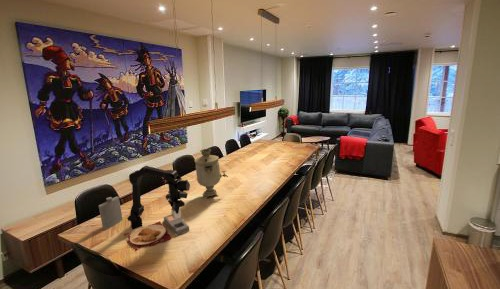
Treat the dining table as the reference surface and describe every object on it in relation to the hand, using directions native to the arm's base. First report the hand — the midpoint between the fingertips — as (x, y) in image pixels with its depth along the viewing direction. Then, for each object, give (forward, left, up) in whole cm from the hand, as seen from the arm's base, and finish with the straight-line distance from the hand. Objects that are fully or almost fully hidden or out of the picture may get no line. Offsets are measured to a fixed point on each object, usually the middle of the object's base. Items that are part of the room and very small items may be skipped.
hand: (176, 212), depth 174 cm
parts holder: (0, +4, -12) cm, 12 cm away
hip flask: (-33, +36, -12) cm, 50 cm away
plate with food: (-19, +3, -13) cm, 23 cm away
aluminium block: (0, 0, -4) cm, 4 cm away
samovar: (+44, +31, -12) cm, 55 cm away
